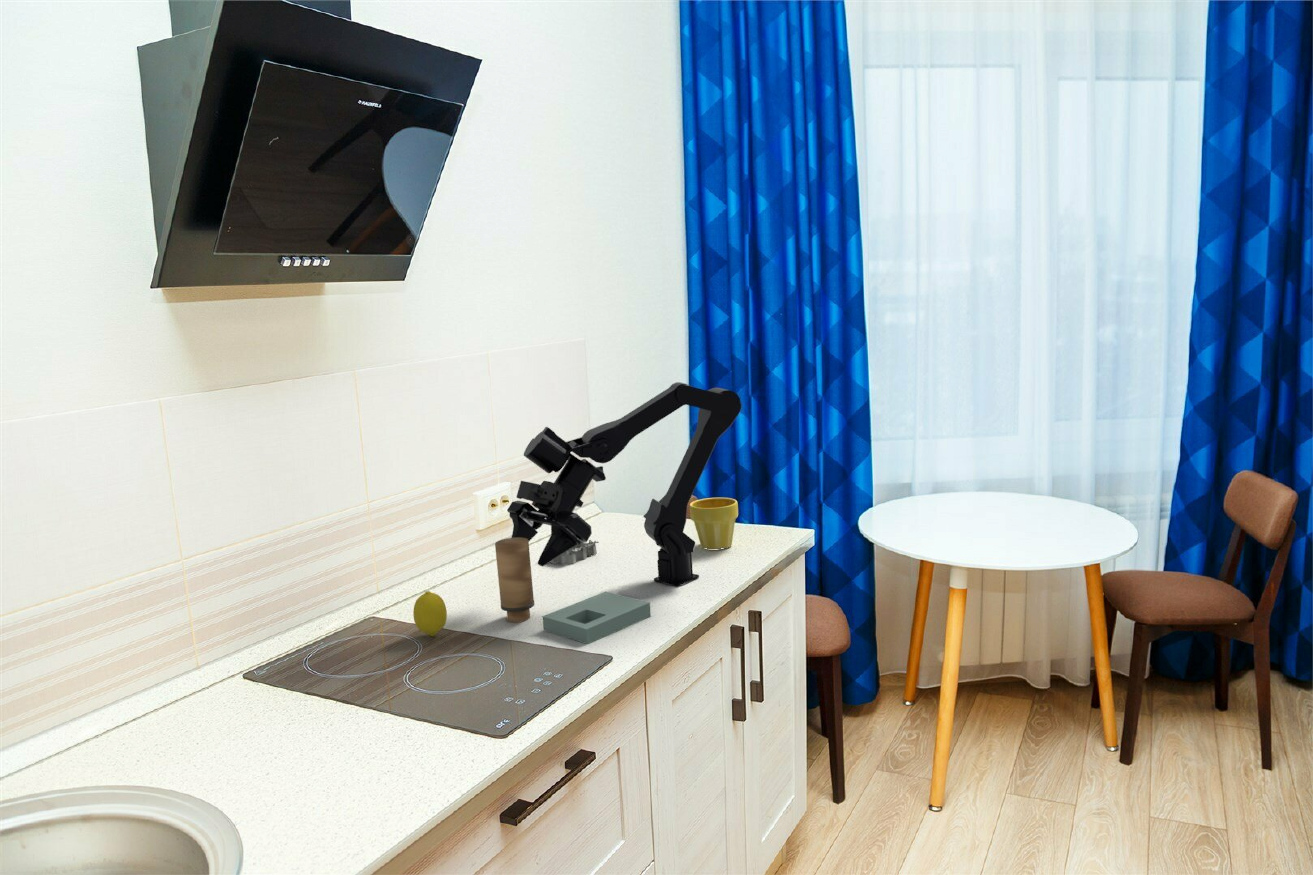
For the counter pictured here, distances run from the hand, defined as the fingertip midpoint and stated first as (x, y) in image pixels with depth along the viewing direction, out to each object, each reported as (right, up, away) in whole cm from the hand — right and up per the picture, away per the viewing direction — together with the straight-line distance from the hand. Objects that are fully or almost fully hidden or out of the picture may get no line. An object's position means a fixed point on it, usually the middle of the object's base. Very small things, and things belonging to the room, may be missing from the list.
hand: (524, 560), depth 167 cm
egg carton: (+6, -4, +36) cm, 36 cm away
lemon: (-15, -12, -6) cm, 20 cm away
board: (+13, -10, -5) cm, 18 cm away
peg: (-1, -10, 0) cm, 10 cm away
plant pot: (+36, -2, +37) cm, 52 cm away
